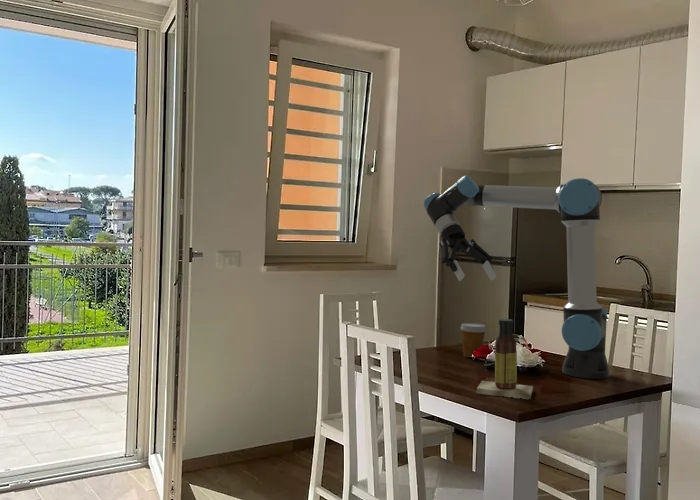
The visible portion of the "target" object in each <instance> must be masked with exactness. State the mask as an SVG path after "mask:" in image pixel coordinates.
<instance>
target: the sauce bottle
mask: <svg viewBox="0 0 700 500" xmlns="http://www.w3.org/2000/svg"><path fill="white" fill-rule="evenodd" d="M498 325H499V332H498V336H497V337H496V339H495V345H494V346H495V348H494V382H495V385H496V386H497V387H498V388H503V389H514V388H516V384H517V382H518V379H517V377H518V376H517V375H518V373H517V372H518V367H517V366H518V359H517V358H518V351H517V342H516V340H515V336H514V335H513V334H514V333H513V325H514V320H513V319H510V318H499V320H498Z"/></svg>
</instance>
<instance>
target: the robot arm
mask: <svg viewBox="0 0 700 500" xmlns="http://www.w3.org/2000/svg"><path fill="white" fill-rule="evenodd" d="M602 202H603V196H602V192H601V189H600V188H599V187H598V186H597V185H596V184H595V183H594V182H593V181H591V180H589V179H587V178H584V177H583V178H574V179H573V178H572V179H570V180H569V181H567V182H565V183H564V184H559V186H557V187H555V186H551V187H550V186H522V185H519V186H518V185H491V184H488V185H487V184H478V183H476V181H475V180H474V179H473V178H472V177H470V175H463V176H462V177H461V178H459V179H457V181H456V182H455V183H453V185H451V186H450V187H448V188H447V190H445V191H444V192H443V193H440V192H433V193H432V194H429V195H428V196H426V198H425V199H424V201H423V206H424V209H425V211H426V214H427V215H428V216H429V218H430V220H431V222H432V223H433V225H434V227H435V228H436V230H437V232H438V234H439V235H440V237H441V241H440V242H439V246H440V252H441V253H440V254H441V256H440V257H441V259H440V260H441V263H442V264H444V265H445V266H446V267H449V268H450V270H451V271H452V272H453V273H454V275H455V276H456V278H457V281H458V282H462V280H463V279H464V278H465V276H466V275H465V273H464V271H463V270H462V268H461V266H460V265H459V262H458V261H457V260H456V259H455V256H456V254H459V253H460V254H461V253H462V254H465V255H467V256H468V255H469V256H470V257H471V258H472V259H474V260H475V261H477V262H478V263H480V264H482V266H481V268H482V269H483V270H484V272H485V273H486V275H487V277H488V278H489V280H490V281H491V282H493V281H494V280H495V278H496V277H497V276H498V274H497V273H496V272H495V270H494V267H493V265H492V263H491V262H492V261H493V257H492V256H491V255H490V254H489V253H487V251H485V250H484V249H483V247H481V246H480V245H479V244H477V241H476V240H475V239H471V240H468V239H466V234H465V231H464V230H463V229H464V228H462V226H461V225H460V223H459V220H458V219H457V218H456V216H455V215H454V212H456V211H457V210H458V209H460V207H462V206H463V205H465V206H468V207H476V206H478V207H498V208H499V207H501V208H518V209H519V208H520V209H535V210H536V209H537V210H538V209H540V210H556V211H557V212H558V213H560V216H561V217H560V218H561V221H560V222H561V223H562V224H563V225H564V226H565V228H566V229H565V230H566V256H567V257H566V260H567V261H566V264H567V265H566V267H567V268H566V269H567V270H566V271H567V273H566V274H567V302H566V303H565V304H564V306H563V310H562V311H563V323H562V325H561V336H562V338H563V340H564V343H566V345H568V349H567V353H566V356H565V358H564V360H563V363H562V367H561V369H562V370H561V372H562V373H563V374H564V375H567V376H570V377H576V378H582V379H592V380H599V379H600V380H603V379H608V378H610V375H611V372H610V371H611V370H610V366H609V362H608V360H607V359H608V358H607V356H606V341H607V339H606V338H607V319H608V313H607V312H608V311H607V309H606V308H605V307H602V306H601V305H600V303H598V302H597V298H598V297H597V296H598V295H597V260H596V259H597V258H596V225H597V224H599V222H600V221H601V220H600V219H601V215H600V213H601V212H600V211H601V210H600V207H601V205H602ZM449 248H450V250H449Z"/></svg>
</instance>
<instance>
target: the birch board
mask: <svg viewBox="0 0 700 500" xmlns="http://www.w3.org/2000/svg"><path fill="white" fill-rule="evenodd" d="M533 391H534V386H533V385H528V384H527V385H525V384H517V383H516V388H514V389H503V388H498V387H497V386H496V385H495V381H490V380H489V381H487V380H480V383H479V384H478V386H477V387H476V395H477V394H478V395H487V396H495V397H503V396H504V398H511V397H513V399H520V398H522V400H529V399H530V400H531V399H532V396H533V395H532V394H533Z"/></svg>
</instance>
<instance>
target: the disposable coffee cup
mask: <svg viewBox="0 0 700 500" xmlns="http://www.w3.org/2000/svg"><path fill="white" fill-rule="evenodd" d="M459 329H460V331H461V342H462V351H463V352H462V353H463V354H462V355H463V357H464V358H467V357H471V356H472V354H473V352H474V350H475V349H477V348H479V347H481V346H482V347H483V345H484V339H485V332H486V330H487V328H486V325H485V324H482V323H475V322H474V323H473V322H466V323H465V322H464V323H462V324H461V326H460V328H459Z"/></svg>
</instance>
